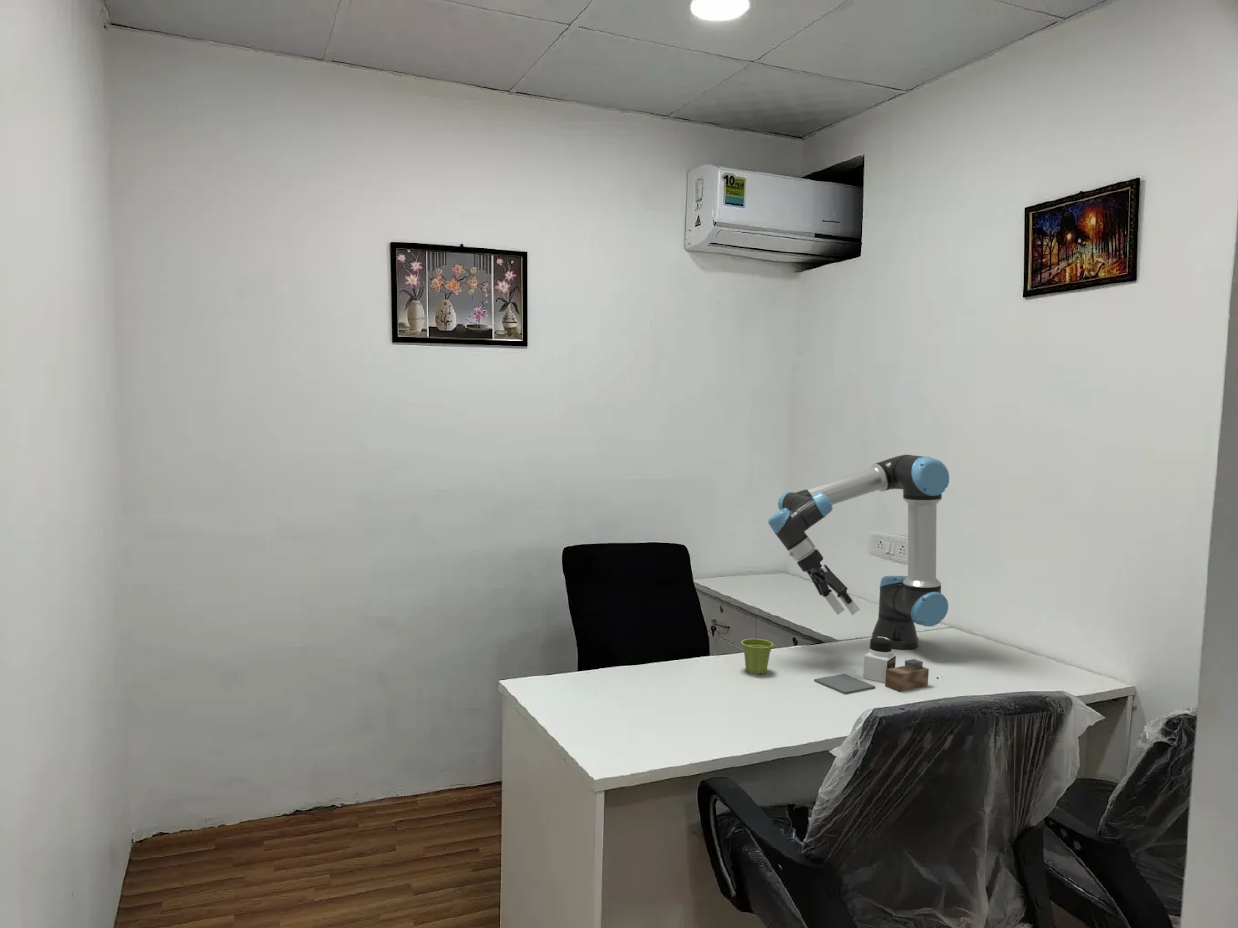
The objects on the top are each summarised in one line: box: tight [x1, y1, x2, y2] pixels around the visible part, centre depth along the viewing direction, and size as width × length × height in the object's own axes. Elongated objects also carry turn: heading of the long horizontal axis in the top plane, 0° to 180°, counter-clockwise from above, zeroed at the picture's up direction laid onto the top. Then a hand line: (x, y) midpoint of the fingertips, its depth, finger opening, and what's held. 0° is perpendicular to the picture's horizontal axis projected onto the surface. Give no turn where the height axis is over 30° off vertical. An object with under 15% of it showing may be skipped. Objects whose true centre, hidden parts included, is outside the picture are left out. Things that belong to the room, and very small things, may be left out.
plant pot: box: [741, 638, 774, 675], centre depth 249 cm, size 9×9×9 cm
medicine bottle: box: [862, 637, 897, 684], centre depth 247 cm, size 7×7×12 cm
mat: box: [813, 673, 876, 695], centre depth 241 cm, size 12×12×1 cm
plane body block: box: [884, 658, 930, 693], centre depth 241 cm, size 12×5×7 cm, turn 120°
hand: (848, 612), depth 255 cm, fingers open, 13 cm apart
